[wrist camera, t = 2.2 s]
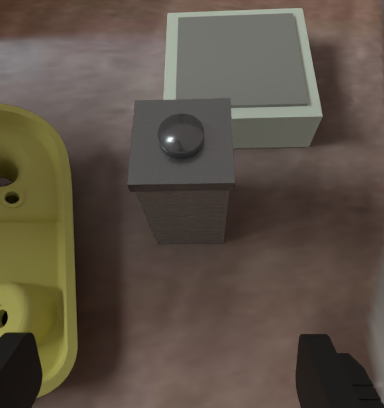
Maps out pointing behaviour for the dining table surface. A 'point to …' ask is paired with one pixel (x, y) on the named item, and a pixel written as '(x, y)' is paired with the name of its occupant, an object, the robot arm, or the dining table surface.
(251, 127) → the stand
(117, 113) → the dining table surface
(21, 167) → the plastic component
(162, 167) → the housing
